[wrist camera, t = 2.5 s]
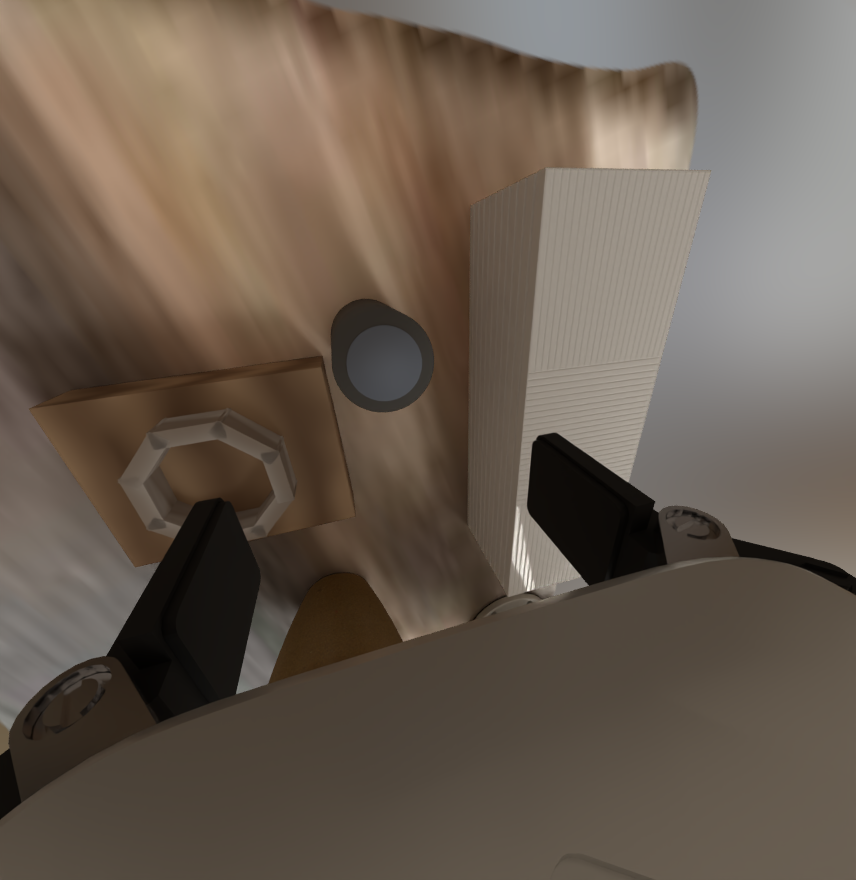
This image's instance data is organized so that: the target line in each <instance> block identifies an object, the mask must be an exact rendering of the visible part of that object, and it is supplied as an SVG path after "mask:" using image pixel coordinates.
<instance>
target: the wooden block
mask: <svg viewBox="0 0 856 880" xmlns="http://www.w3.org/2000/svg"><path fill="white" fill-rule="evenodd" d="M29 410H30V412H31V413H32V415H33V416H34V418H35V419H36V421H37V422H38V424H39V425H40V426H41V428H42V429H43V431H44V432H45V434H46V435H47V437H48V438H49V440H50V441H51V443H52V444H53V446H54V447H55V449H56V450H57V452H58V453H59V455H60V456H61V458H62V459H63V461H64V462H65V464H66V465H67V467H68V468H69V470H70V471H71V473H72V474H73V476H74V477H75V479H76V480H77V482H78V483H79V485H80V486H81V487H82V489H83V490H84V492H85V493H86V495H87V496H88V498H89V499H90V501H91V502H92V504H93V505H94V507H95V508H96V510H97V511H98V513H99V514H100V516H101V517H102V519H103V520H104V522H105V523H106V525H107V526H108V528H109V529H110V531H111V532H112V534H113V535H114V537H115V538H116V540H117V541H118V543H119V544H120V546H121V547H122V548H123V550H124V551H125V553H126V554H127V556H128V557H129V559H130V560H131V562H132V563H133V565H134V566H135V567H139V566H143V565H148V564H152V563H156V562H161V561H162V559H163V558H164V556H165V554H166V552H167V551H168V549H169V547H170V545H171V544H172V542H173V540H174V539H175V537H176V535H177V533H178V532H179V530H180V528H181V526H182V525H183V523H184V521H185V519H186V518H187V516H188V514H189V513H190V511H191V509H192V507H193V506H194V504H195V503H196V502H199V501H204V500H209V499H214V498H219V497H220V498H222V499H223V500H224V502H225V501H230V502H231V503H232V505H233V508H234V510H235V512H236V515H237V517H238V520H239V522H240V524H241V527H242V529H243V531H244V534H245V536H246V539H247V541H252V540H256V539H261V538H265V537H269V536H274V535H278V534H282V533H287V532H291V531H295V530H300V529H304V528H309V527H313V526H317V525H322V524H326V523H330V522H335V521H339V520H343V519H348V518H352V517H356V515H355V506H354V497H353V490H352V486H351V481H350V477H349V472H348V468H347V463H346V459H345V455H344V450H343V446H342V441H341V437H340V432H339V428H338V424H337V419H336V415H335V410H334V406H333V401H332V397H331V393H330V388H329V384H328V379H327V375H326V370H325V366H324V362H323V357H322V356H318V357H311V358H303V359H296V360H289V361H281V362H274V363H267V364H259V365H252V366H245V367H238V368H230V369H223V370H216V371H208V372H201V373H194V374H186V375H179V376H172V377H164V378H157V379H150V380H142V381H135V382H128V383H120V384H113V385H106V386H98V387H91V388H84V389H76V390H70V391H68V392H66V393H64V394H61V395H59V396H57V397H55V398H52V399H50V400H48V401H45V402H43V403H41V404H39V405H36V406H34V407H32V408H29Z"/></svg>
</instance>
